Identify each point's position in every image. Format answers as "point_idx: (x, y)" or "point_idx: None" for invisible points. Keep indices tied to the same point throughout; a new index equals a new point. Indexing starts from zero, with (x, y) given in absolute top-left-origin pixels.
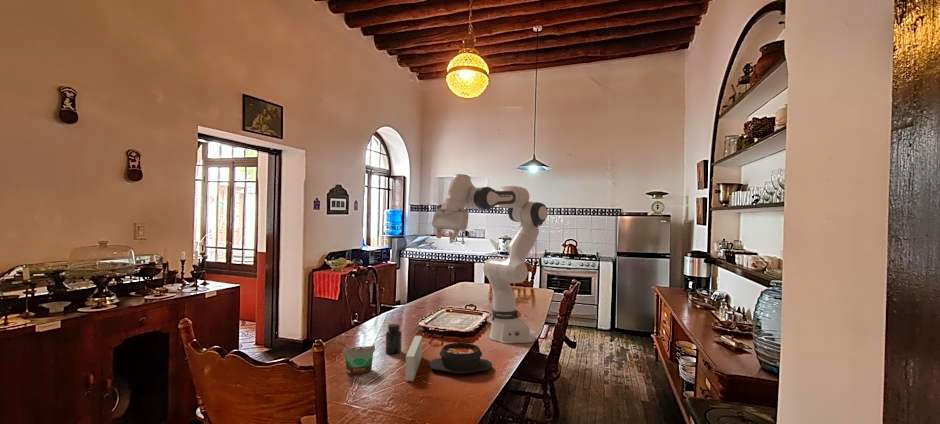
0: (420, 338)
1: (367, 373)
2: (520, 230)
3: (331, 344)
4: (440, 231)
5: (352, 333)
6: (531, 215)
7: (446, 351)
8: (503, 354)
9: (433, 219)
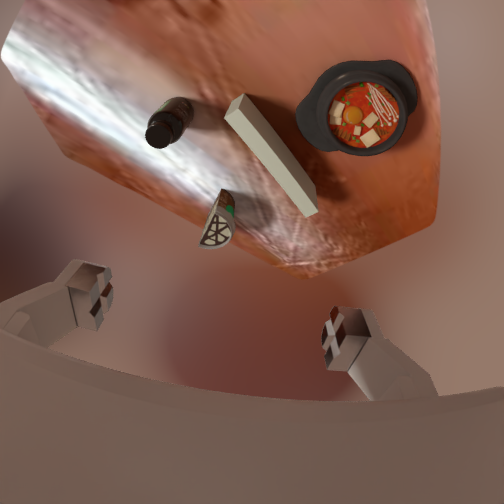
0: (250, 125)
1: (234, 203)
2: None
3: (76, 161)
4: (26, 309)
5: (38, 106)
6: None
7: (350, 151)
8: None
9: None
